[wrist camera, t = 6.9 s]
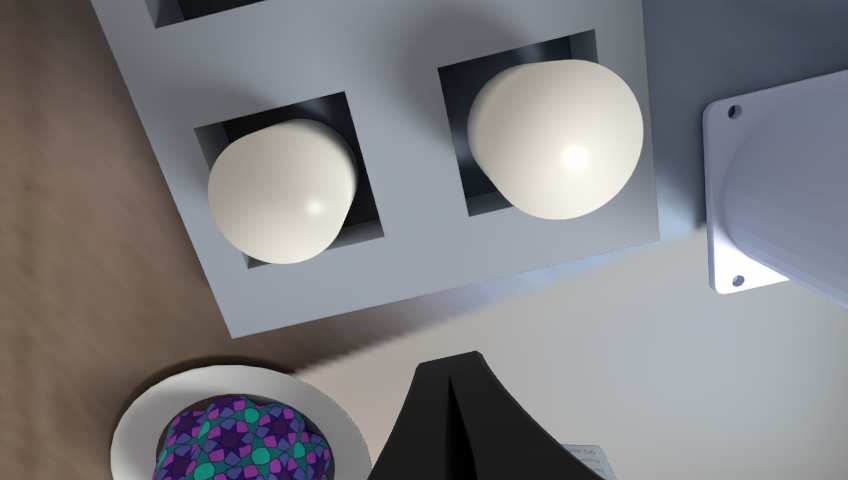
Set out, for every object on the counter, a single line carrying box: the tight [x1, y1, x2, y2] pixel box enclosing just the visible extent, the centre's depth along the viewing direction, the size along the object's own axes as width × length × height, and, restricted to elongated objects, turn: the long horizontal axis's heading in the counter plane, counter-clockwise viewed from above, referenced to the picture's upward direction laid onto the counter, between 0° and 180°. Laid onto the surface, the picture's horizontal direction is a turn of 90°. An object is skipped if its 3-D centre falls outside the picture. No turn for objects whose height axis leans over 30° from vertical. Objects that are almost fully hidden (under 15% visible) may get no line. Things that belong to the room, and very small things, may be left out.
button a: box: [467, 60, 643, 220], centre depth 14 cm, size 4×4×4 cm
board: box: [91, 0, 660, 339], centre depth 16 cm, size 16×18×2 cm
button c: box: [208, 119, 359, 264], centre depth 16 cm, size 4×4×4 cm
